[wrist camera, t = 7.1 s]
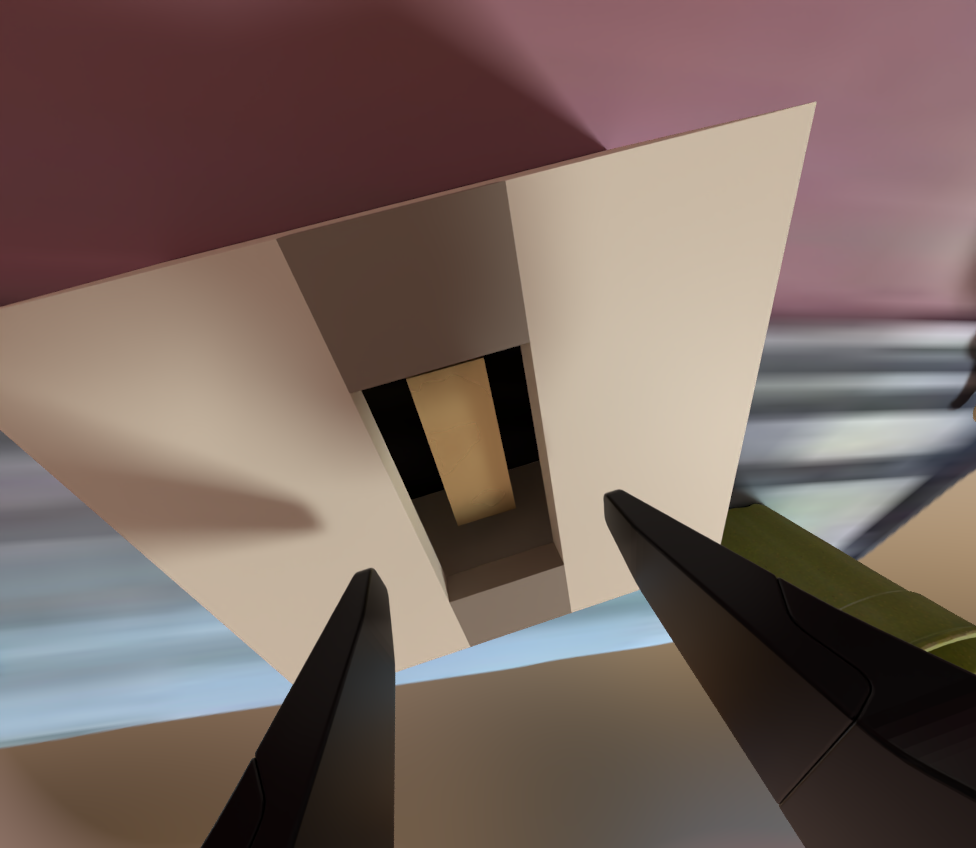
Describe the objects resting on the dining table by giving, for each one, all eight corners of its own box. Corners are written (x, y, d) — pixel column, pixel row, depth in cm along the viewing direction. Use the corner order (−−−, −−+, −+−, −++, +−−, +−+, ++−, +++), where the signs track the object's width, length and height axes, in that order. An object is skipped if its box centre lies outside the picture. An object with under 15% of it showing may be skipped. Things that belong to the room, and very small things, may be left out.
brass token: (453, 306, 15) (483, 357, 10) (482, 424, 19) (515, 508, 14) (401, 319, 15) (406, 379, 10) (439, 437, 18) (458, 526, 13)
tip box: (607, 149, 13) (816, 101, 7) (614, 448, 21) (716, 563, 14) (163, 262, 12) (-107, 336, 6) (339, 533, 20) (311, 700, 13)
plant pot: (830, 483, 28) (1055, 631, 18) (736, 587, 33) (872, 743, 23) (715, 464, 24) (925, 638, 14) (628, 585, 29) (741, 771, 20)
